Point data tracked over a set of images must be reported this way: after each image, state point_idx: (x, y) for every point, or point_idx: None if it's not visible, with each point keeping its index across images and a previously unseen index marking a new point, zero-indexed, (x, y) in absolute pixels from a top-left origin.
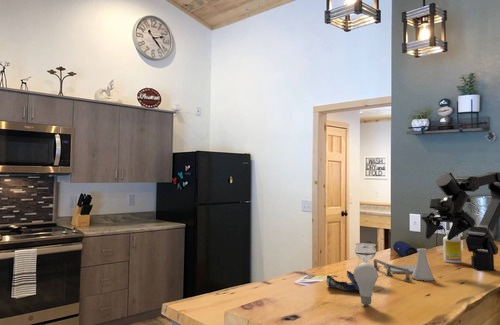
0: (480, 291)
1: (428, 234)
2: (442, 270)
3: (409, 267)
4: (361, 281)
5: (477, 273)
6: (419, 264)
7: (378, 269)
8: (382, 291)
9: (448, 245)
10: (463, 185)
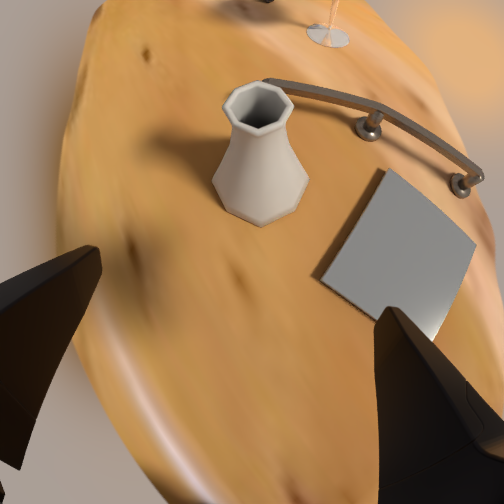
0: (63, 191)
1: (395, 345)
2: (314, 419)
3: (410, 301)
4: None
5: (196, 469)
6: (255, 125)
7: (451, 188)
8: (231, 8)
9: None
10: None
